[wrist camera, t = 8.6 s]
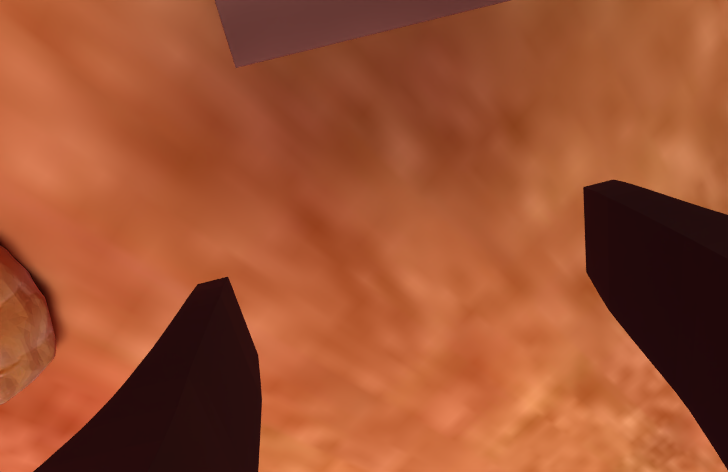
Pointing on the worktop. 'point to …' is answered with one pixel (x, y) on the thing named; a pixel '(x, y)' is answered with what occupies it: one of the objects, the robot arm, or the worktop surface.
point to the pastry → (22, 328)
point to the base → (320, 22)
